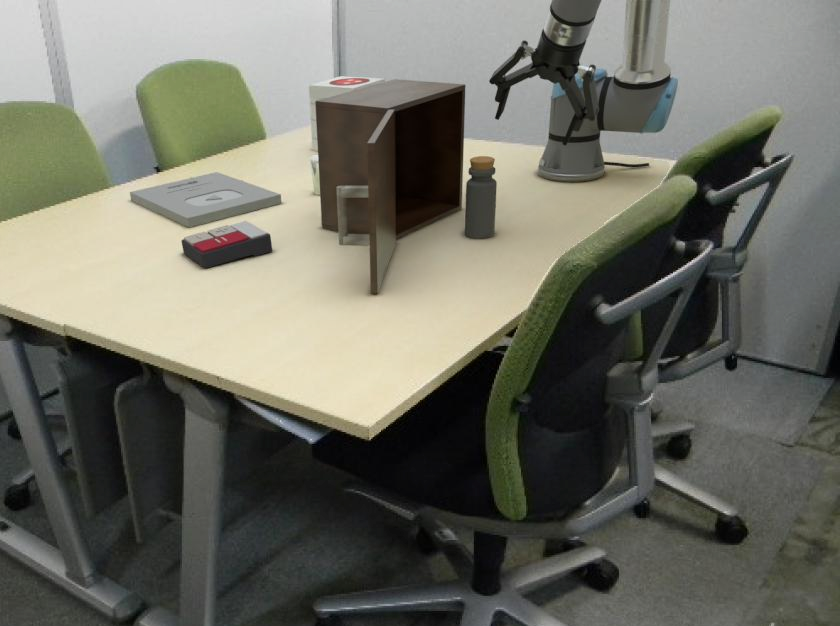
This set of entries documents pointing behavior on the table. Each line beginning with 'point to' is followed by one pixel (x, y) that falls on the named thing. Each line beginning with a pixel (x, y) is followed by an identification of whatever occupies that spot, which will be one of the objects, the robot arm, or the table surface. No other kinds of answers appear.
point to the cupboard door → (375, 201)
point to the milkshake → (315, 173)
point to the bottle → (480, 198)
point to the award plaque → (204, 199)
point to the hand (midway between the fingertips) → (532, 127)
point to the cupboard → (414, 151)
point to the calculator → (226, 244)
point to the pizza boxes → (332, 89)
